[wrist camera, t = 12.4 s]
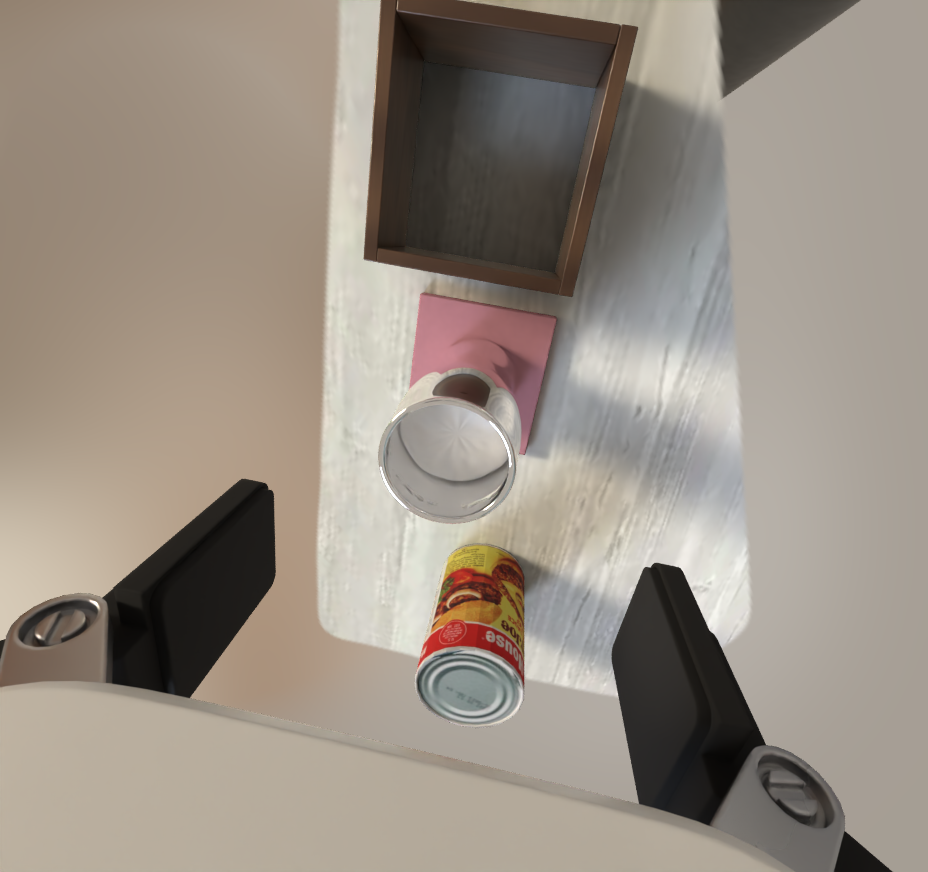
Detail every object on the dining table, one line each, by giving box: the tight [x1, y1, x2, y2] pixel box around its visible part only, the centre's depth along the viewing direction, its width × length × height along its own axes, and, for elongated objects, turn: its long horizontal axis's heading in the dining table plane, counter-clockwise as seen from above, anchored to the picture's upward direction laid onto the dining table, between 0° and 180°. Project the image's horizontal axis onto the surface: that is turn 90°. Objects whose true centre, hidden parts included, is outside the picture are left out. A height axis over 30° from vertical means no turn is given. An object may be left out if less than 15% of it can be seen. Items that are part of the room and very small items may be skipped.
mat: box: [409, 293, 557, 455], centre depth 36 cm, size 11×10×1 cm
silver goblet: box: [378, 339, 522, 524], centre depth 29 cm, size 7×7×15 cm
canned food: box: [415, 544, 524, 728], centre depth 39 cm, size 8×8×12 cm
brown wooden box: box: [364, 0, 638, 297], centre depth 28 cm, size 12×12×7 cm
